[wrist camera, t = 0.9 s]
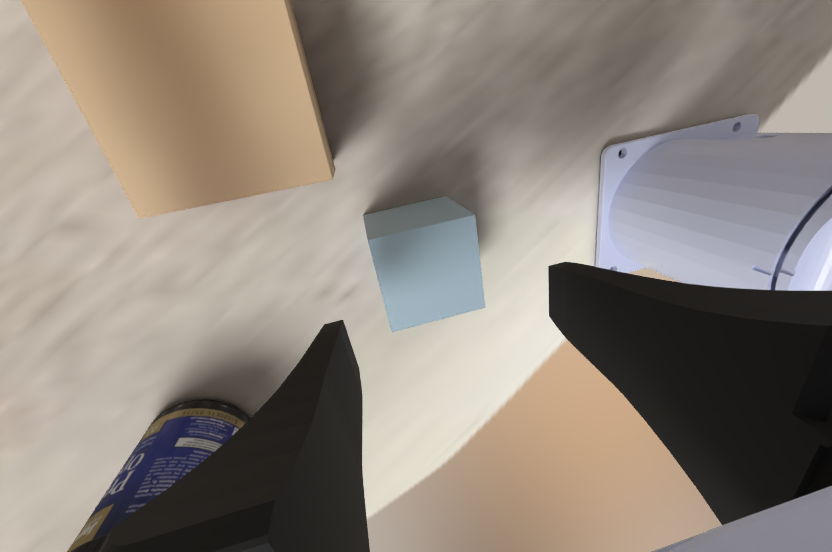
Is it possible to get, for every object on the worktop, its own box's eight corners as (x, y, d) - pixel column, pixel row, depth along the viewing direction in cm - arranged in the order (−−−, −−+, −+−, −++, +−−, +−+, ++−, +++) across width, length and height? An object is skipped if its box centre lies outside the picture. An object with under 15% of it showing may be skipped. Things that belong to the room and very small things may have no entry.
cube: (445, 195, 18) (475, 214, 14) (456, 270, 20) (485, 307, 16) (363, 214, 17) (367, 240, 13) (382, 289, 19) (391, 332, 15)
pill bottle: (154, 389, 19) (-59, 676, 9) (268, 402, 21) (195, 653, 11) (148, 466, 21) (-33, 770, 11) (252, 471, 23) (178, 737, 13)
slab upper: (286, -17, 11) (266, -65, 8) (335, 169, 14) (332, 179, 11) (93, 10, 10) (3, -32, 8) (182, 200, 13) (138, 218, 10)
